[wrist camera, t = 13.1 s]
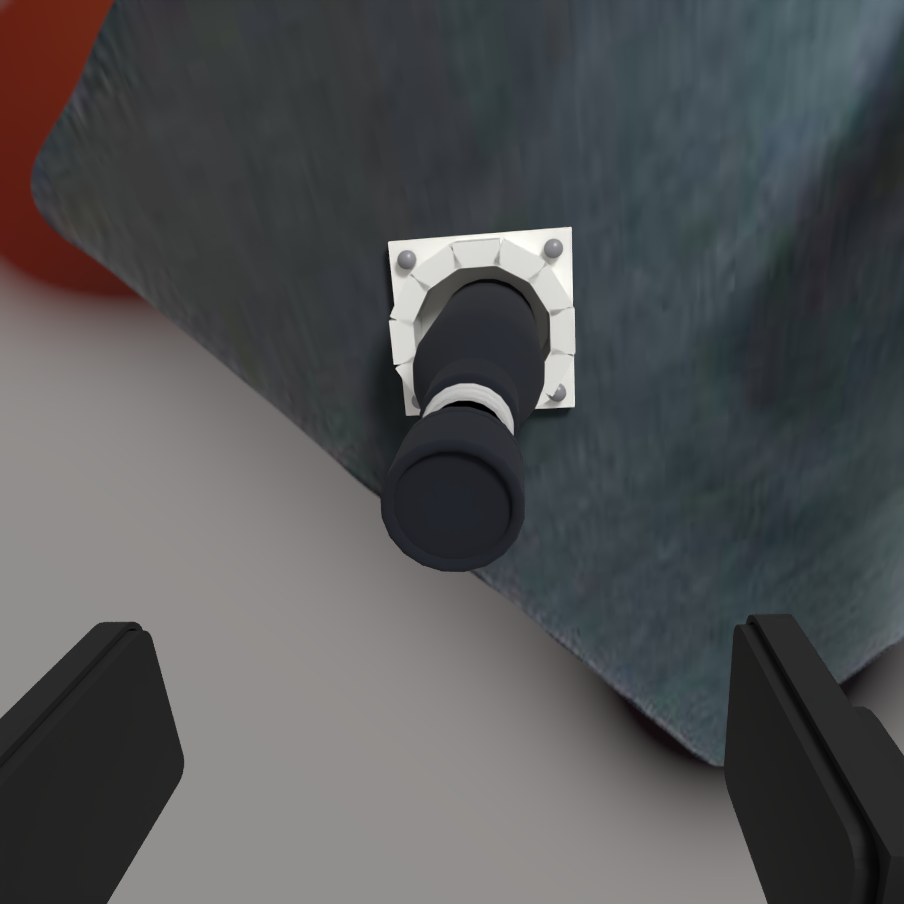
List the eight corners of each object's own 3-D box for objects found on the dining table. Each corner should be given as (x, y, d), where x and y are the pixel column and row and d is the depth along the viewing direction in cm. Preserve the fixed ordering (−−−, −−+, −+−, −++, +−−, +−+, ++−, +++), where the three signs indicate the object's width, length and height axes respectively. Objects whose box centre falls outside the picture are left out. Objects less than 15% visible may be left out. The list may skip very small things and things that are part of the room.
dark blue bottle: (542, 285, 45) (598, 412, 16) (526, 379, 47) (550, 631, 19) (447, 271, 45) (340, 373, 17) (435, 365, 47) (323, 594, 19)
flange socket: (570, 227, 44) (577, 228, 39) (573, 403, 48) (580, 423, 43) (390, 241, 45) (376, 244, 41) (408, 411, 49) (397, 432, 45)
